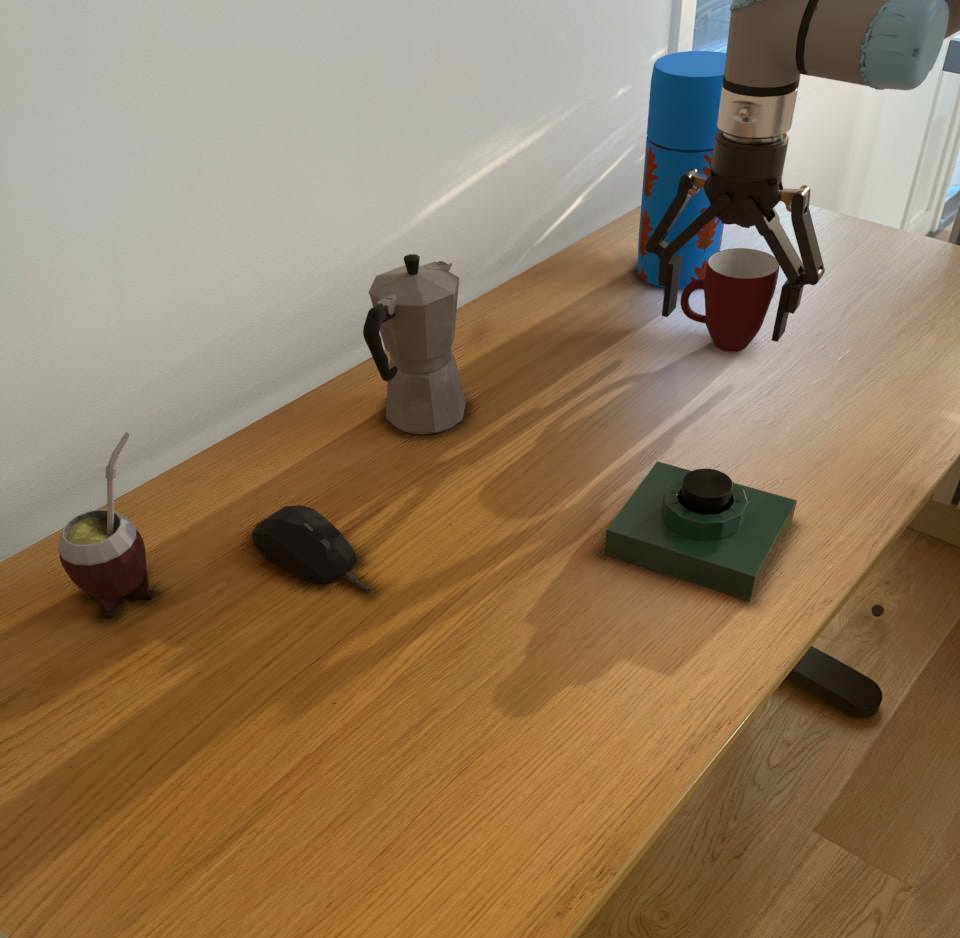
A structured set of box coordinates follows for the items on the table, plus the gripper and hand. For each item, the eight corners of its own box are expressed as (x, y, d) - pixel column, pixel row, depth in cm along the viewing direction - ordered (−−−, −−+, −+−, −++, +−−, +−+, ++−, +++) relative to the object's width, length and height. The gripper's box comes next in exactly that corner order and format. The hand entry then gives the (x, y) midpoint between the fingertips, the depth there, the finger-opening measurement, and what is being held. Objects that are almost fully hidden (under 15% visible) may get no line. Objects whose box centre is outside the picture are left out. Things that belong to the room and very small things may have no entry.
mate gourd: (69, 618, 85) (2, 483, 74) (105, 561, 91) (47, 427, 80) (147, 624, 84) (90, 488, 73) (179, 566, 90) (130, 431, 79)
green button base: (791, 525, 90) (801, 482, 87) (749, 602, 83) (759, 559, 79) (654, 485, 95) (658, 443, 92) (604, 554, 88) (607, 512, 85)
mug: (674, 357, 113) (683, 276, 106) (677, 325, 118) (686, 245, 111) (765, 363, 111) (780, 280, 104) (764, 329, 116) (779, 249, 109)
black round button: (736, 494, 86) (739, 476, 85) (719, 521, 84) (722, 503, 82) (690, 481, 88) (693, 463, 87) (673, 507, 85) (675, 489, 84)
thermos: (622, 263, 131) (636, 58, 113) (691, 248, 133) (715, 45, 115) (660, 296, 124) (681, 82, 106) (732, 280, 126) (764, 68, 108)
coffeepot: (422, 375, 112) (407, 222, 99) (491, 394, 109) (485, 237, 96) (347, 442, 103) (320, 282, 90) (419, 464, 100) (402, 302, 87)
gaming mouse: (343, 610, 84) (336, 577, 82) (241, 543, 92) (231, 510, 89) (393, 574, 88) (388, 541, 85) (290, 512, 95) (283, 479, 92)
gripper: (626, 126, 100) (613, 315, 115) (865, 161, 91) (817, 361, 106) (654, 105, 104) (638, 289, 120) (885, 136, 95) (835, 332, 110)
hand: (722, 323), depth 113 cm, fingers open, 13 cm apart
